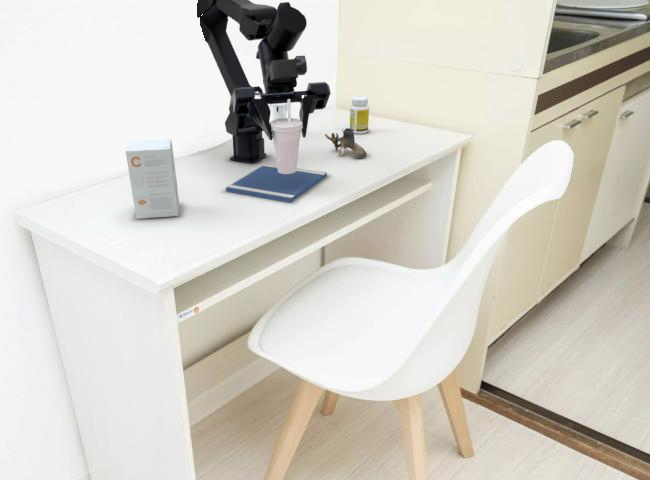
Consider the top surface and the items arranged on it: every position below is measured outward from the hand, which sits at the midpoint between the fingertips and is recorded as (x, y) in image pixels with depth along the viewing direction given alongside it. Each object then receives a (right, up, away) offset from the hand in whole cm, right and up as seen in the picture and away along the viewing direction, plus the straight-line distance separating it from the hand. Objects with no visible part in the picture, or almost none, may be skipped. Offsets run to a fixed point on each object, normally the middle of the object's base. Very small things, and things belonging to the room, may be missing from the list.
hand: (287, 137), depth 126 cm
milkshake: (-2, +13, +41) cm, 43 cm away
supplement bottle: (+19, +14, +43) cm, 49 cm away
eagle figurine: (+14, +4, +27) cm, 31 cm away
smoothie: (0, -5, +5) cm, 7 cm away
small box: (-25, -15, -1) cm, 29 cm away
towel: (-2, -6, +11) cm, 13 cm away
